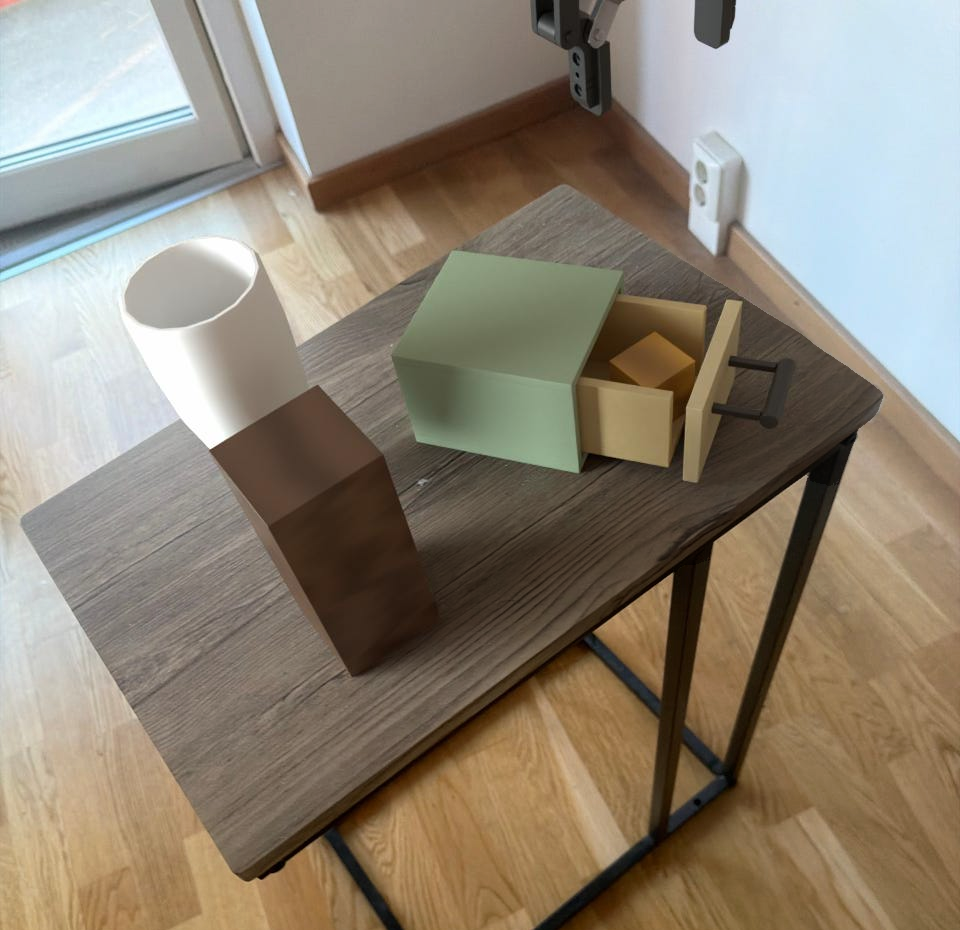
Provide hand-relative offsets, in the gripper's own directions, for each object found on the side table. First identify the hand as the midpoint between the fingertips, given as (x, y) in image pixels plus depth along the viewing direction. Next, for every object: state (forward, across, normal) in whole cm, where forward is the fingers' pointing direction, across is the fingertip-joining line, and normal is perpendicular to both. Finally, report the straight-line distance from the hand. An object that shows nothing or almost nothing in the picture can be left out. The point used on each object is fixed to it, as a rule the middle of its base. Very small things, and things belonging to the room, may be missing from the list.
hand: (654, 74), depth 53 cm
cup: (+28, -26, +14) cm, 41 cm away
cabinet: (+28, -6, +10) cm, 30 cm away
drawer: (+27, 0, -1) cm, 27 cm away
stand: (+28, -28, 0) cm, 40 cm away
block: (+26, 0, 0) cm, 26 cm away
